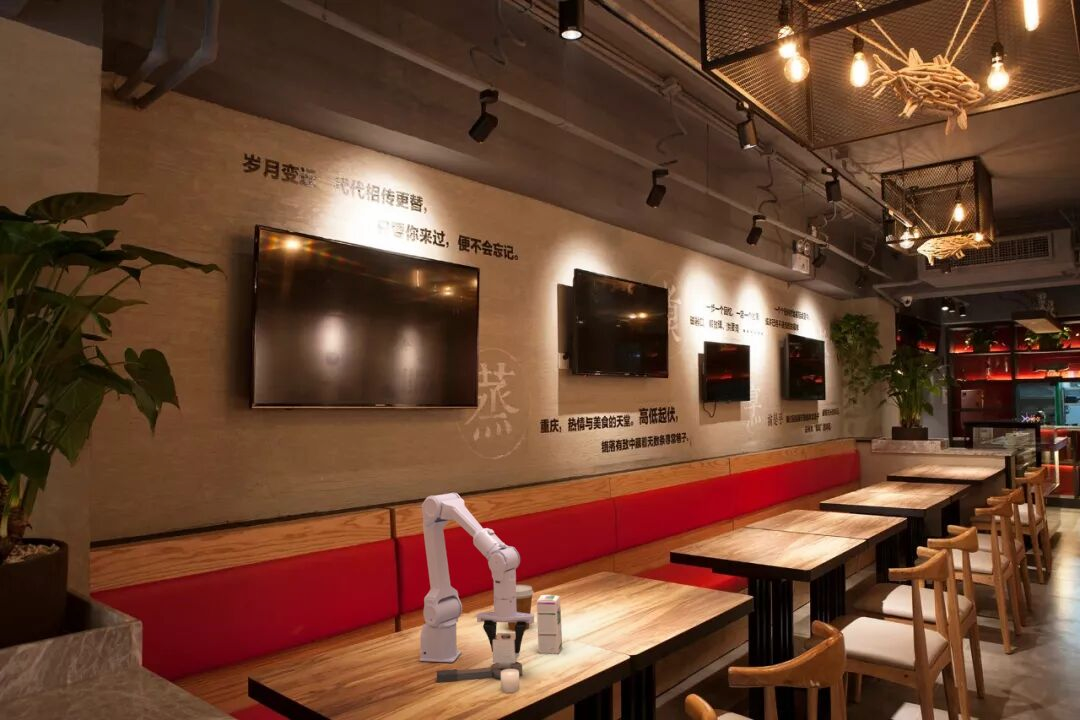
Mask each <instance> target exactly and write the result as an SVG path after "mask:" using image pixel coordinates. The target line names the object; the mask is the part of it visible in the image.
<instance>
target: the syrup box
mask: <svg viewBox="0 0 1080 720" xmlns="http://www.w3.org/2000/svg"><path fill="white" fill-rule="evenodd" d="M561 611H562V610H561V596H560V595H559V594H542V595H541V594H540V597H538V598H537V600H536V616H537V617H536V618H537V619H536V621H537V643H538V645H537V646H538V653H539V654H545V653H549V654H548V655H550V654H551V655H558V653H559V654H560V652H561V650H562V648H563V638H562V637H563V635H562V614H561V613H562V612H561ZM552 653H553V654H552Z"/></svg>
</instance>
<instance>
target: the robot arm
mask: <svg viewBox="0 0 1080 720" xmlns="http://www.w3.org/2000/svg"><path fill="white" fill-rule="evenodd" d="M465 503H466V502H465V500H464V499H463V498H461V496H460V495H459V494H458V493H457V492H450V493H443V494H437V495H429V496H427V497H426V498H425V499H424V501H423V502H422V503H421V512H422V530H423V538H424V546H425V547H424V548H425V554H426V561H427V562H426V563H427V569H428V578H429V585H430V589H429V591H428V593H427V594H426V595H425V596H424V599H423V601H424V602H423V603H424V607H423V614H422V615H423V619H424V621H425V623H424V624H423V625H422V627H421V629H420V638H419V639H420V644H419V645H420V658H419V661H420V662H434V663H454V662H455V661H456V660H457V659H458V658H459V656H461V654H462V650H457V649H458V648H457V647H458V646H457V623H458V622H459V618H460V617H461V615H462V613H463V604H462V601H461V600H460V598H459V592H458V590H457V589H455V588H454V587H453V586H451V579H450V573H449V572H450V570H449V564H448V563H449V562H448V557H447V549H446V540H445V534H444V533H445V532H444V528H445V527H446V526H447V524H448V523H449V521H455V522H456V523H457V524H458V525H459V526H461V528H463V529H464V530H465V531H466V532H467V533H468V534H469V536H471V537H472V538H473V539H472V541H473V545H474V547H476V549H477V550H478V551H479V552H480V553H481V555H483V556H484V557H485V558H486V560H487V563H488V568H489V570H490V572H491V578H492V580H493V611H490V612H489V611H487V612H486V611H485V612H478V613H477V614H476V623H482V622H483V624H482V628H483V630H484V632H485V634H486V636H487V638H488V641H489V644H490V648H491V652H492V653H493V638H494V637H495V636H496V634H497V623H508V622H512V623H517V624H516V625H515V631H514V633H515V635H516V653H519V654H520V652H521V647H522V642H523V636H524V634H525V631H526V630H525V629H526V626H527V624H528V623H529V625H533V624H534V623H535V614H533V613H530V614H527V613H520V612H517V611H516V585H517V574H516V573H517V572H516V569H518V567H519V565H520V563H521V556H520V553H519V552H518V550H517V549H516V547H514V546H509V545H507V544H505V542H503V541H502V540H501V539H500V538H499V537H498V535H496V534H495V531H494V530H493V529H491V528H488V527H486V528H484V527H482V525H481V523H479V521H478V520H477V519H476V518H475V517H474V515H473V514H472V513H471V511H469V510H468V508H467V507H466V504H465Z"/></svg>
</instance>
